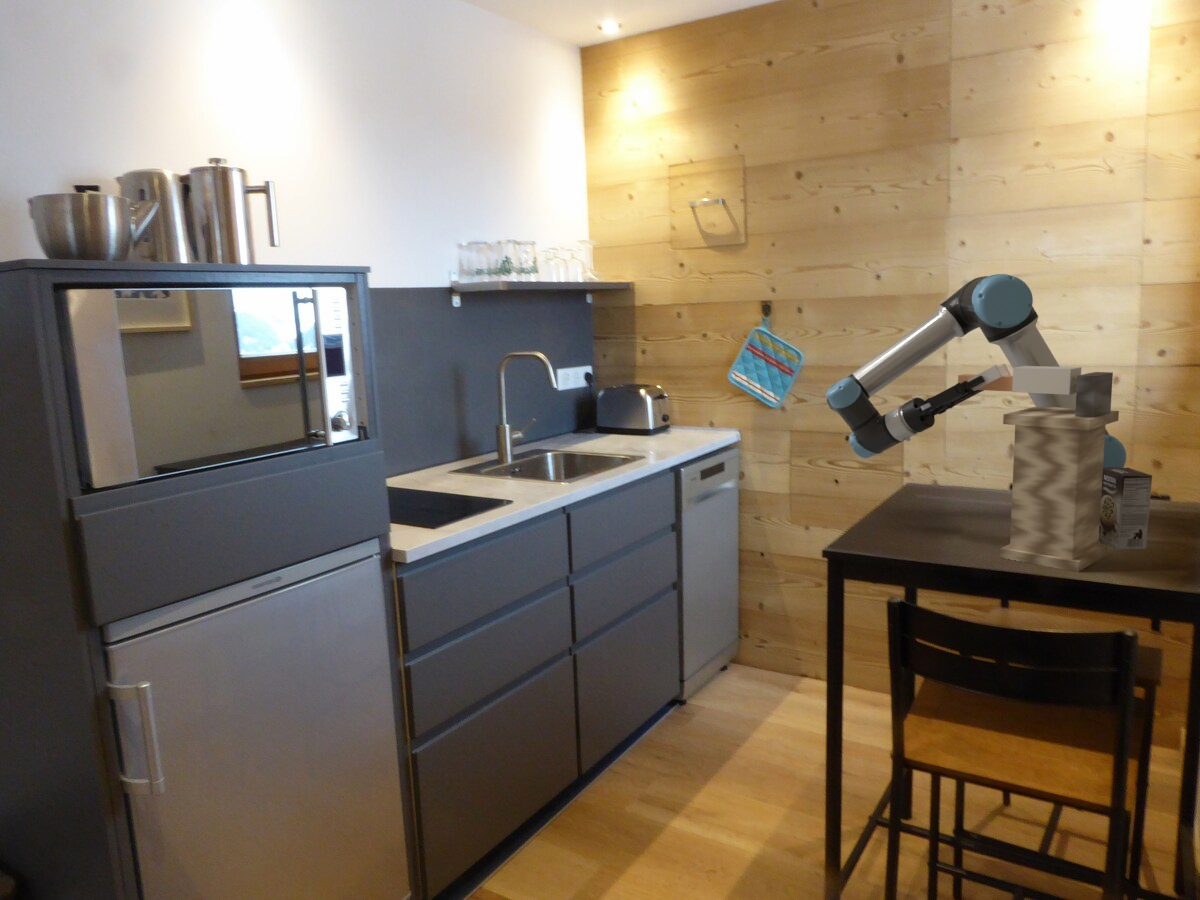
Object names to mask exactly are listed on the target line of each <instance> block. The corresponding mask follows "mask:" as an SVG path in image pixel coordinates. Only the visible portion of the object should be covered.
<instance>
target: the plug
mask: <svg viewBox="0 0 1200 900" xmlns="http://www.w3.org/2000/svg"><path fill="white" fill-rule="evenodd" d="M976 375H978V374H972V373H971V374H970V373H965V374H959V375H957V376H958V377H957V383H962V382H964V381H967V382H969V381H968V379H970V378H972V377H974V376H976ZM1078 375H1082V367H1080V366H1079V367H1078V366H1060V367H1047V366H1022V367H1015V368H1012V375H1010V376H1009V375H1002V377H1000V378H999V379H997V380H995V381H993V382H991V383H989V384H987V385H985V386H983V387H981V388H979V389H977V390H984V391H990V392H991V391H992V392H993V391H994V392H995V391H997V392H1012V393H1024V394H1025V393H1026V394H1028V393H1045V394H1067V395H1070V394H1074V393H1076V392H1077V376H1078ZM971 390H973V389H971Z"/></svg>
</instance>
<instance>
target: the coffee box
mask: <svg viewBox="0 0 1200 900" xmlns="http://www.w3.org/2000/svg"><path fill="white" fill-rule="evenodd" d="M1152 482H1153V475H1152V474H1149V473H1145V472H1142V471H1139V470H1136V469H1134V468H1131V467H1123V468H1116V467H1108V468H1103V476H1102V492H1101V509H1100V526H1099V542H1102V543H1103V544H1108V546H1110V547H1112V548H1114V549H1116V550H1118V551H1119V550H1146V549H1147V547H1148V546H1147V545H1148V544H1147V543H1148V533H1149V532H1148V531H1149V520H1150V519H1149V518H1150V508H1151V496H1152V493H1151V492H1152Z"/></svg>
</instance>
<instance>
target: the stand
mask: <svg viewBox="0 0 1200 900" xmlns="http://www.w3.org/2000/svg"><path fill="white" fill-rule="evenodd" d="M1113 375H1114V372H1112V371H1111V372H1109V371H1108V372H1107V371H1106V372H1105V371H1103V372H1102V371H1094V372H1093V371H1092V372H1088V373H1083V374H1081V375H1078V376H1077V392H1076V408H1057V407H1039V406H1033V407H1029V408H1024V409H1020V410H1016V411H1011V412H1008V413H1004V414H1003V416H1002V417H1003V418H1002V424H1003V425H1009V426H1010V425H1013V426H1014V443H1013V444H1014V446H1013V447H1014V448H1013V467H1012V469H1013V470H1012V486H1011V487H1012V488H1011V489H1012V491H1011V511H1010V512H1011V514H1010V532H1009V533H1010V536H1009V537H1010V539H1009V544H1007V545H1005V546H1003V547H1001V548H1000V550H999V558H1000V559H1003V558H1004V559H1005V560H1008V559H1010V561H1014V560H1016V561H1015V562H1020V561H1022V562H1021V563H1025V562H1027V563H1026V564H1031V563H1032V564H1031V565H1036V564H1037V565H1038V566H1043V567H1048V568H1055V569H1059V570H1063V571H1064V570H1065V571H1071V572H1076V573H1079V572H1080V571H1082V570H1084V569H1085V568H1087V567H1089V566H1090V565H1092V564H1094V563H1095V562H1096V561H1098V560H1099V559H1102V558H1103V557H1104V556H1106V555H1107V554H1108V550H1109V549H1108V548H1109V545H1108V544H1106V543H1103V542H1102V543H1100V540H1099V526H1100V509H1101V492H1102V476H1103V459H1104V443H1105V428H1106V425H1109V424H1112V423H1115V422H1118V421H1119V416H1120V415H1119V414H1120V410H1112V409H1111V407H1112V394H1113V393H1112V392H1113V391H1112V390H1113V380H1114V377H1113Z"/></svg>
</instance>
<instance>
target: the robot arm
mask: <svg viewBox="0 0 1200 900" xmlns="http://www.w3.org/2000/svg"><path fill="white" fill-rule="evenodd" d="M1033 304H1034V299H1033V294H1032V291H1031V288H1030V287H1029V285H1027V283H1026V282H1025V281H1024V280H1022V279H1020V278H1019V277H1017V276H1014V275H1010V274H1006V273H997V274H990V275H985V276H979V277H976V278H973V279H971V280H970V281H968V282H967V283H965V284H964V285H963V286H962V287H961V288H959V289H957V291H956V292H954V293H953V294H952V295H951V296H950V297H948V298H947V299H946V300H944V301H943V302H941V304H939V305H938V306H937V308H936V311H935V313H934V314H932V315H931V316H930V317H928V318H927V319H926V320H924V321H922V322H921V323H920V324H917V326H915V327H914V328H913V329H911V330H910V331H909V332H907V333H906V334H904V335H903V336H902V337H900V338H899V339H898V340H896V341H895V342H894V343H892V344H891V345H889V346H888V347H887V348H885V349H884V350H883V351H881V352H880V353H878V354H877V355H876V356H874V357H872V358H871V359H870V360H868V361H867V362H866V363H864V364H863V365H862V366H860V367H858V368H857V370H855V371H853V372H852V373H851V374H849V375H848V376H846V377H845V378H842V379H840V380H839V381H838V382H834V383H833V384H832V385H830V386H829V388H828V389H827V390H826V393H825V400H826V403H827V406H828V407H829V408H830V409H831V410H832V411H834V412H836V413H837V415H839V416H840V417H841V418H842V420H843V421H844V422H845V424H847V426H848V427H849V428H850V430H851V433H850V434H849V437H848V439H849V445H850V446H851V450H853V452H854V453H855V455H856V456H858V457H860V458H862V459H869V458H871V457H875V456H877V455H880V454H882V453H884V452H885V451H887V450H888V449H890V448H893V447H894V446H896V445H898V444H900V443H902V442H904V441H905V442H910V441H911V437H914V436H916V435H918V434H919V433H921V432H924V431H926V430H928V429H930V428H932V427H934V424H935V421H936V418H935V416H937V415H942V414H944V413H945V412H947V410H951V409H953V408H954V407H955V406H957V405H959V404H961V403H962V402H965V401H966V400H969V399H971V398H973V397H974V396H976V395H978V394H979V393H981V392H984V391H985V390H977V389H979V388H981V387H983V386H985V385H987V384H989V383H991V382H993V381H995V380H997V379H999V378H1000V377H1002V375H1009V376H1012V374H1011V373H1010V370H1009V369H1008V367H1007V365H1006V364H1005V363H1002V364H1000V365H999V366H998V365H997V364H996V365H993V366H991V367H990V368H987V369H986V370H983V371H981V372H979V373H978V374H977V375H976V376H974V377H972V378H970V379H968V381H969V382H967V381H964V382H962V383H958V382H957V383H956V384H954V385H952V386H950V387H949V388H947V389H945V390H943V391H942V392H939V393H937V394H935V395H933V396H931V397H928V398H927V399H923V398H921V397H915V398H912V399H910V400H908V401H907V402H905V403H903V405H899V406H896V407H895V408H893V409H891V410H889V411H888V412H886V413H885V414H882V415H881V413H880V411H878V409H877V408H876V407H875V406H874V404H873V403H872V402H871V400H870V398H871V397H872V396H874V395H876V394H877V393H878V392H880V391H882V389H884V388H885V387H887V386H888V385H890V384H891V383H892V382H894V381H895V380H896V379H898V378H900V377H901V376H902V375H904V374H905V373H907V372H908V371H909V370H911V369H912V368H914V367H915V366H916V365H918V364H919V363H921V362H922V361H924V360H925V359H926V358H928V357H929V356H931V355H932V354H933V353H934V352H937V350H939V349H941V347H943V346H944V345H946V344H948V343H949V342H950V341H952V340H954V338H956V337H957V338H963V337H965V336H966V335H967V334H968V333H971V332H972V331H974V330H976V329H978V328H979V329H980V330H981V332H982V333H983V335H984V337H985V338H986V340H987V342H988V343H989V344H992V345H997V346H999V348H1000V350H1001V351H1002V353H1003V354H1004V356H1005V358H1006V359H1007V361H1008V363H1009V364H1010V366H1011V368H1012V369H1013V368H1015V367H1022V366H1047V367H1061V366H1060V364H1059V362H1058V361H1057V359H1056V357H1055V356H1054V354H1053V352H1052V351H1051V350H1050V348H1049V346H1048V344H1047V343H1046V341H1045V339H1044V337H1043V336H1042V334H1041V332H1040V331H1039V330H1038V329H1039V328H1037V323H1038V319H1039V315H1038V313H1037V311H1036V310H1035V308H1034V306H1033ZM971 389H973V390H971ZM1027 394H1028V395H1029V398H1030V399H1031V401H1032V402H1033V404H1034V407H1036V406H1039V407H1057V408H1076V393H1074V394H1070V395H1067V394H1045V393H1027ZM1126 462H1127V451H1126V448H1125V446H1124V445H1123V443H1122V442H1121V441H1120V440H1119V439H1118V438H1116V437H1115V436H1113V435H1111V434H1110V433H1109V432H1108V429H1107V428H1106V427H1105V443H1104V459H1103V468H1108V467H1116V468H1125V465H1126Z"/></svg>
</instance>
